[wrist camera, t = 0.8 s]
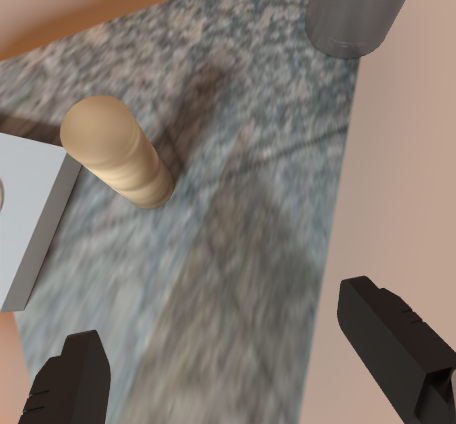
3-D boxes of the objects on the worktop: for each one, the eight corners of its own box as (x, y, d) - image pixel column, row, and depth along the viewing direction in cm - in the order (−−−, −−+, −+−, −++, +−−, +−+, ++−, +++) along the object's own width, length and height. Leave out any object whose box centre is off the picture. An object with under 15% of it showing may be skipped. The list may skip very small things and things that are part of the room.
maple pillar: (135, 159, 34) (76, 89, 22) (179, 169, 33) (142, 103, 21) (119, 203, 32) (48, 153, 21) (165, 214, 32) (117, 169, 20)
